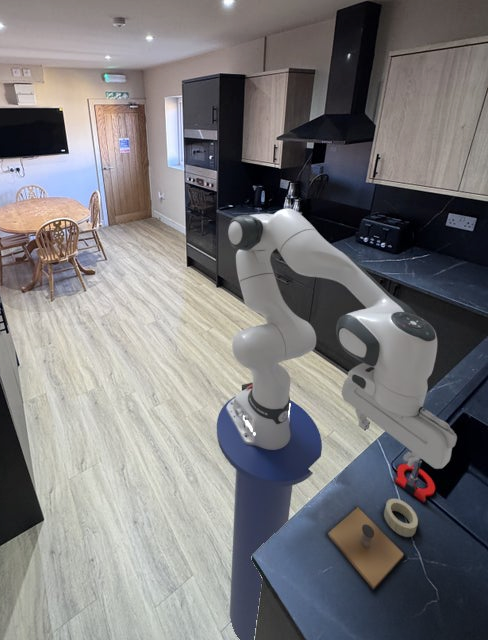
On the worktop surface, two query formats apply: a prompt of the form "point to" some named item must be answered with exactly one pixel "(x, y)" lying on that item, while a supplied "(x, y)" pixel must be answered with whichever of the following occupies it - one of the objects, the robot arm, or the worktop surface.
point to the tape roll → (397, 525)
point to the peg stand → (366, 547)
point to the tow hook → (415, 480)
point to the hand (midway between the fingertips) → (384, 444)
